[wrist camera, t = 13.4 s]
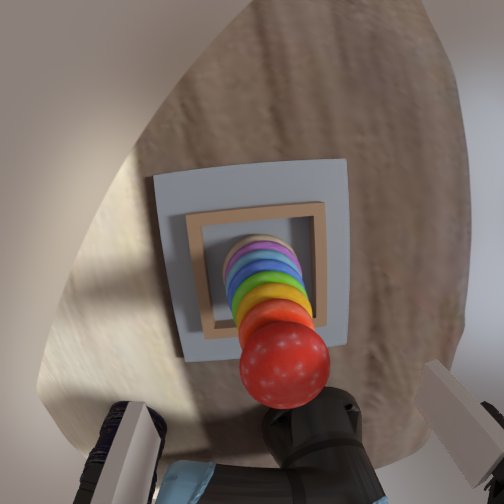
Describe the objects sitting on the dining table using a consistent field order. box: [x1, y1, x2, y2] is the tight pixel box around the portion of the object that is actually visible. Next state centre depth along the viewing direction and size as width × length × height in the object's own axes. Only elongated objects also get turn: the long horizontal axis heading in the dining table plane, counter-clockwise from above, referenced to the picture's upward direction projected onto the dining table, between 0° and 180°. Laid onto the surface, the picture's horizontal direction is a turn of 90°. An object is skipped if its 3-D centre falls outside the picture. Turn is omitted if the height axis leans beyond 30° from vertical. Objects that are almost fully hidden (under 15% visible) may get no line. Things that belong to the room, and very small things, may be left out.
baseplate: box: [153, 159, 350, 362], centre depth 31 cm, size 22×20×3 cm
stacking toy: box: [222, 234, 330, 409], centre depth 22 cm, size 8×8×19 cm
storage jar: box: [80, 401, 167, 504], centre depth 30 cm, size 10×10×15 cm
